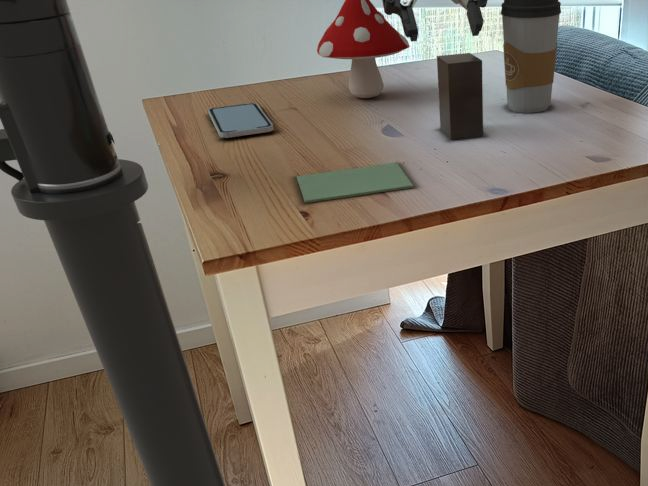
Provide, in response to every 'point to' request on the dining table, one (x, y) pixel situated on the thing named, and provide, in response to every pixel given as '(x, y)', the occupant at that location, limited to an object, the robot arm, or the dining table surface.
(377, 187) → the mat
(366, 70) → the decorative mushroom
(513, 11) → the coffee cup
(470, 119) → the walnut block
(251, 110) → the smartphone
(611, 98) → the dining table surface
